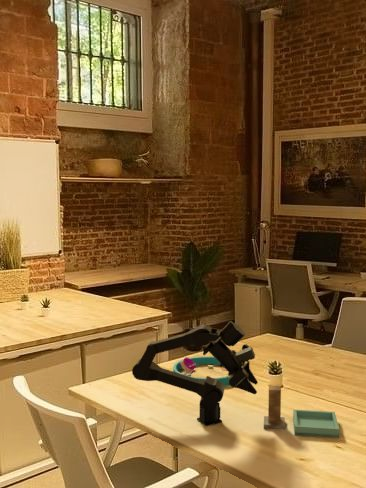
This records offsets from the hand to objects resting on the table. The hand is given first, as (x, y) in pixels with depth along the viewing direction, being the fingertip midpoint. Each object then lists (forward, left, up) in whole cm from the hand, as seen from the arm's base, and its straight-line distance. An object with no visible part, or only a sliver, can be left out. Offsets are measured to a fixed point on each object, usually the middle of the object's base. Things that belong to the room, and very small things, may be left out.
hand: (256, 388), depth 192 cm
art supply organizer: (+14, +50, -13) cm, 54 cm away
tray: (+15, -13, -12) cm, 23 cm away
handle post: (+5, -4, -13) cm, 14 cm away
